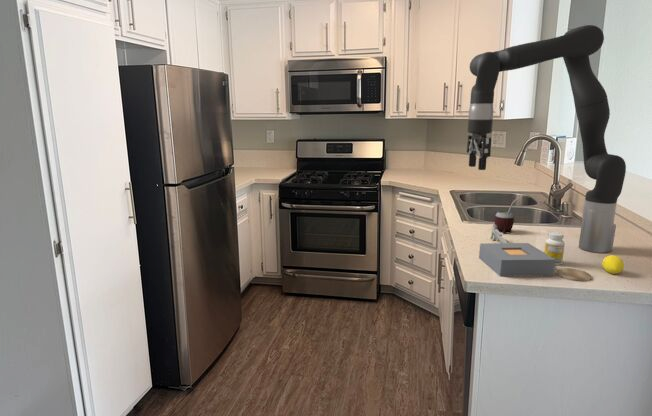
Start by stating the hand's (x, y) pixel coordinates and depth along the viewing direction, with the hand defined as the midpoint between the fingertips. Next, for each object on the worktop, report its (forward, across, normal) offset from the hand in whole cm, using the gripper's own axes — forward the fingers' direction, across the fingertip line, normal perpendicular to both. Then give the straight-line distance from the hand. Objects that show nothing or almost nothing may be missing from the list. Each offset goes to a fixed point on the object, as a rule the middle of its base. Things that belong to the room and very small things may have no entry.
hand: (476, 168), depth 142 cm
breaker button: (+26, -15, -8) cm, 31 cm away
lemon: (+29, -21, -35) cm, 50 cm away
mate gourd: (+29, +22, -22) cm, 43 cm away
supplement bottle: (+29, -12, -22) cm, 39 cm away
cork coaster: (+29, -24, -22) cm, 43 cm away
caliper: (+29, +4, -13) cm, 32 cm away
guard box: (+29, -16, -8) cm, 34 cm away
